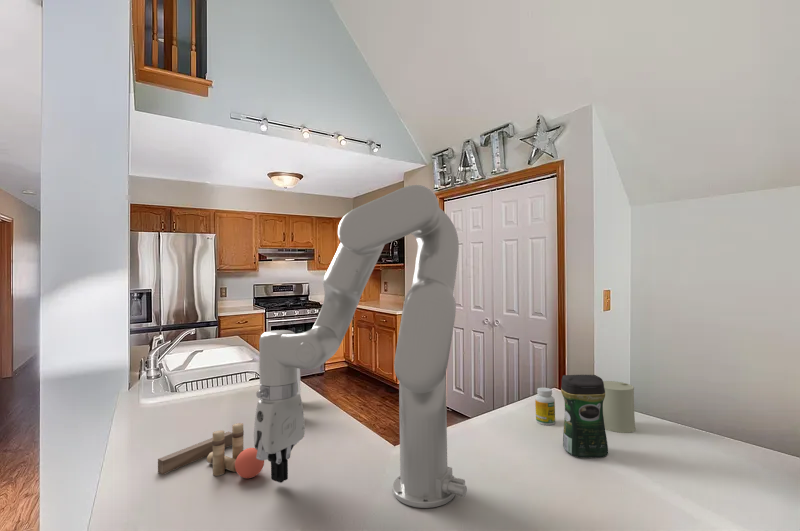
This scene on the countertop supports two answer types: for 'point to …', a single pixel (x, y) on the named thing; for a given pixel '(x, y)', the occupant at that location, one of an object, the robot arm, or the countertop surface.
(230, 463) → the front pin
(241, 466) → the ball
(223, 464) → the left back pin
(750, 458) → the countertop surface
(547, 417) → the supplement bottle
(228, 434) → the back wall
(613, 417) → the can
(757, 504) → the countertop surface
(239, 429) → the right back pin
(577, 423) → the coffee jar
